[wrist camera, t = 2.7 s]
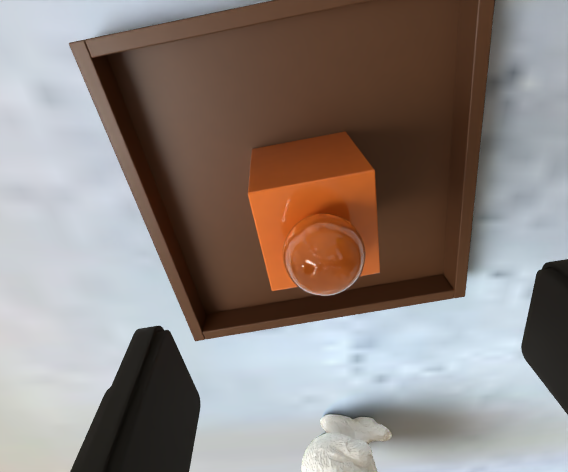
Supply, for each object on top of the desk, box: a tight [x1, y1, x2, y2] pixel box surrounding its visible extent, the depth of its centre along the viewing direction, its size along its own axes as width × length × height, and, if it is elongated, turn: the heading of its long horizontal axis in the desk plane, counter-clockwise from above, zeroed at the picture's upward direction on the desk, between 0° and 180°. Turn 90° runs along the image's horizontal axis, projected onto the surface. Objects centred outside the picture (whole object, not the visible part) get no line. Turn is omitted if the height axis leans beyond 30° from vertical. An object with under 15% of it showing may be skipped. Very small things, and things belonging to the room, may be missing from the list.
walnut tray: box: [69, 0, 495, 341], centre depth 17 cm, size 15×15×2 cm
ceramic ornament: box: [248, 132, 380, 296], centre depth 15 cm, size 4×4×8 cm
